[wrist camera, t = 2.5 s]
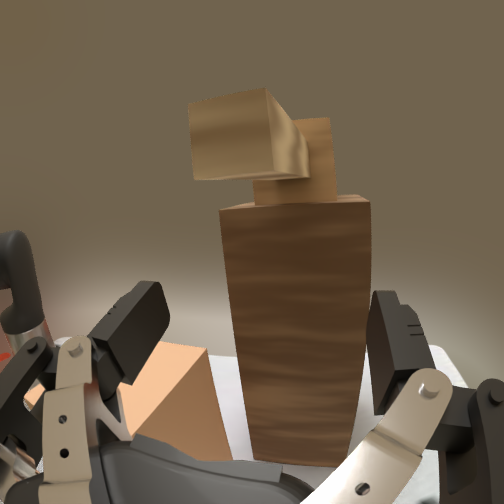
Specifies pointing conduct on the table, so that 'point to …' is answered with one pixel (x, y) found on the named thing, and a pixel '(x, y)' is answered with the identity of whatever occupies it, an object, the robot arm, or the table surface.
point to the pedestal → (173, 402)
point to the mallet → (262, 148)
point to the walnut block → (299, 322)
